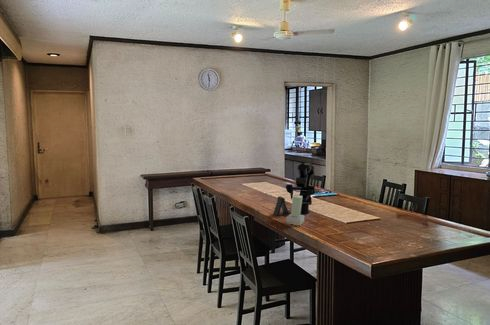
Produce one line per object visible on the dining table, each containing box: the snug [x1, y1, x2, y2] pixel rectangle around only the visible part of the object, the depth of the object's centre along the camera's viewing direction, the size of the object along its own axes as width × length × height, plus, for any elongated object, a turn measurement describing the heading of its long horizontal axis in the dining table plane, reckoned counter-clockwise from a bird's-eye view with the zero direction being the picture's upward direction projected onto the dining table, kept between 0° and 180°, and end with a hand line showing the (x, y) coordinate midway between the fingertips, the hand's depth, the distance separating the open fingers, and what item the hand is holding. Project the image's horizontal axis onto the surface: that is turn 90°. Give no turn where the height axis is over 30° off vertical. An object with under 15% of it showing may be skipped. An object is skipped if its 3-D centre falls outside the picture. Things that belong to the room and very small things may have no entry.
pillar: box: [290, 194, 303, 217], centre depth 243 cm, size 5×5×12 cm
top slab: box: [285, 213, 305, 223], centre depth 244 cm, size 9×9×2 cm
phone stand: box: [273, 196, 290, 217], centre depth 266 cm, size 9×6×12 cm, turn 108°
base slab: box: [285, 219, 305, 226], centre depth 244 cm, size 9×9×2 cm
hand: (298, 199), depth 249 cm, fingers open, 9 cm apart
